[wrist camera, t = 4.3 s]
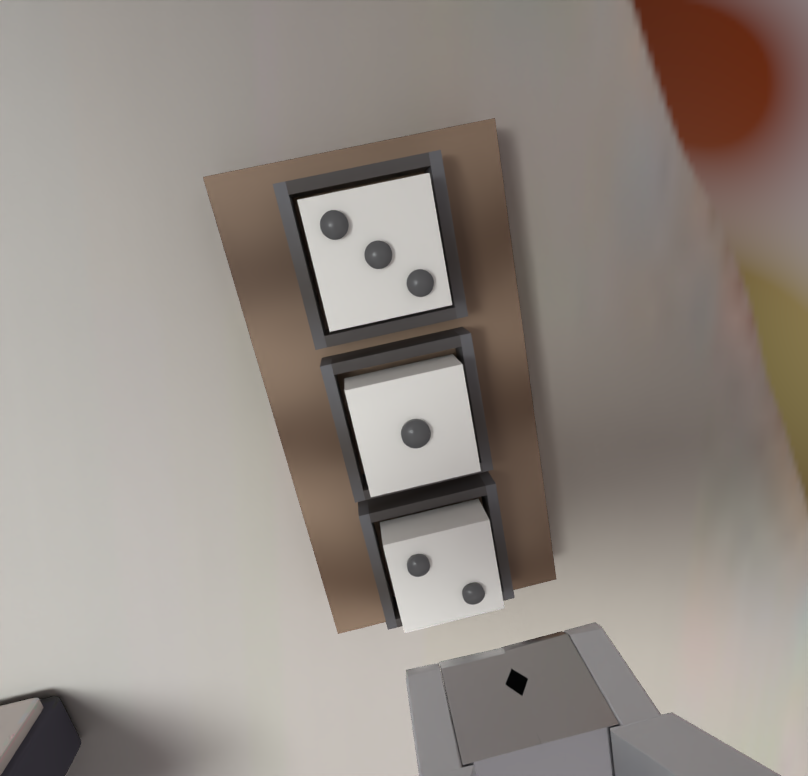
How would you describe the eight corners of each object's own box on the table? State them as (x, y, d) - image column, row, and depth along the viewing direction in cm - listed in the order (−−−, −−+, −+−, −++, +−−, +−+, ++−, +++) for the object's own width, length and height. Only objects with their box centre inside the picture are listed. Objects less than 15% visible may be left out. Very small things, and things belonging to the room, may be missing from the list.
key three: (301, 203, 17) (296, 199, 15) (421, 179, 17) (430, 171, 15) (330, 324, 18) (329, 333, 16) (443, 299, 18) (453, 305, 16)
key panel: (217, 183, 19) (190, 171, 16) (479, 130, 19) (507, 108, 16) (338, 602, 24) (337, 658, 21) (540, 553, 25) (569, 600, 22)
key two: (379, 522, 20) (383, 548, 18) (478, 498, 20) (490, 522, 19) (400, 605, 21) (405, 637, 19) (493, 581, 21) (506, 611, 20)
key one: (344, 378, 18) (344, 392, 17) (452, 354, 18) (463, 365, 17) (368, 477, 19) (371, 500, 18) (470, 453, 20) (482, 473, 18)
